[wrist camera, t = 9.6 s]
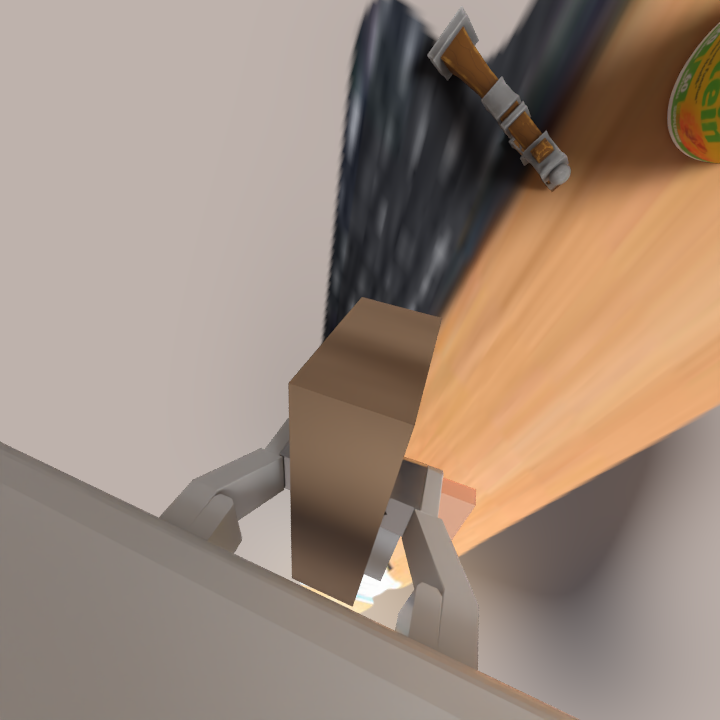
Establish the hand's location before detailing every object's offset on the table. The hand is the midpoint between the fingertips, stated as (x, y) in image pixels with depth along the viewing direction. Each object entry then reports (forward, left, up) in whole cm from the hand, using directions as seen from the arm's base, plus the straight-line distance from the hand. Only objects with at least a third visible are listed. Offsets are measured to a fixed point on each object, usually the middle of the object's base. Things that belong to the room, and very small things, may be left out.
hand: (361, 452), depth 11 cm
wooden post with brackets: (-11, +1, -13) cm, 17 cm away
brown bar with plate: (+4, 0, -2) cm, 4 cm away
